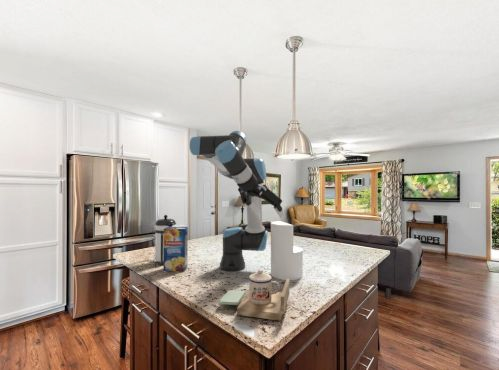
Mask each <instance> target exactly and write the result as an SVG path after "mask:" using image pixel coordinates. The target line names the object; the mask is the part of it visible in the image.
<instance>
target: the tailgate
mask: <svg viewBox="0 0 499 370" xmlns="http://www.w3.org/2000/svg"><path fill="white" fill-rule="evenodd" d="M246 294H247V291H245V290H233V289H231V290H227V291H226V293H225V294H224V295H223V296H222V297H221V299H219V301H218V304H219V305H228V306H230V305H231V306H239V304H240V303H241V301H242V300H243V298H244V297H245V295H246Z"/></svg>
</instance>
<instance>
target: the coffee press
mask: <svg viewBox="0 0 499 370" xmlns="http://www.w3.org/2000/svg"><path fill="white" fill-rule="evenodd" d="M154 225H155V230H154V232H155V234H154V235H155V243H154V244H155V245H154V247H155V248H154V251H155V253H154V255H155V256H154V259H153V261H152V262H153V263H155V262H158V263H159V266H164V229H165V228H167V227H176V226H177V222H176V221H175V219H173V218H168V215H167V214H164V216H163V218H159V219H157V220H156V221H155V222H154ZM154 261H155V262H154Z"/></svg>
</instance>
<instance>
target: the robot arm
mask: <svg viewBox="0 0 499 370" xmlns="http://www.w3.org/2000/svg"><path fill="white" fill-rule="evenodd" d="M246 143H247V137H246V135H245V133H243V132H242V131H239V130H234V131H232V132H230V133H229V135H199V136H192V137H191V138H190V140H189V150H190V153H191V155H193V156H202V157H204V159H205V160H207V161H208V162H209V163H210V164H211V165H213V166H214V167H215V168H216V169H217V172H218V173H219V174H220V175H222V176H224V177H226V178H228V179H231V180H233V181H234V182H235V184H236V185H237V187H238V189H237V191H238V192H239V195H240V199H241V203H242V204H243V205H245V204H246V221H247V226H245V228H244V229H243V227H242V226H238V227H230V228H225V229H224V230H223V232H222V255H221V259H220V262H219V268H220V270H223V271H226V272H237V271H241V270H244V269H245V268H246V261H245V259H244V256H243V251H250V252H253V251H255V252H261V251H262V252H264V251H265V250H266V248H267V242H268V232H269V231H268V230H266V228H265V226H264V225H263V211H262V210H263V209H262V208H263V206H262V205H263V204H262V199H263V201H265V202H266V203H269V204H270V205H271V206H273V207H272V208H273V210H274V211H275V212H276V214H277V215H278V217H279V218H280V219H283V217H284V216H285V212H284V210H283V207H282V206H281V204H282V202H283V200H282V199H281V198H280V197H279V196H278V195H276V194H275V193H274V192H273V191H272V190H271V189H270V188H268V186H267V184H264V181H266V180H267V169H266V165H265V164H266V163H265V161H264V159H262V158H258V157H256V158H255V157H254V158H253V157H252V158H244V157H243V155H244V151H245V148H246V145H247V144H246Z"/></svg>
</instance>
